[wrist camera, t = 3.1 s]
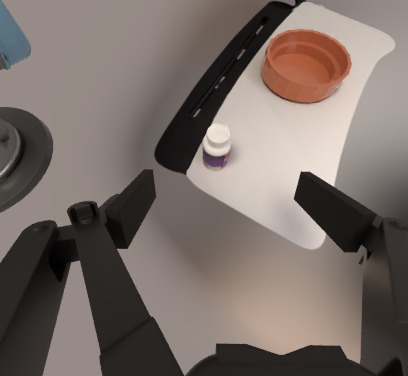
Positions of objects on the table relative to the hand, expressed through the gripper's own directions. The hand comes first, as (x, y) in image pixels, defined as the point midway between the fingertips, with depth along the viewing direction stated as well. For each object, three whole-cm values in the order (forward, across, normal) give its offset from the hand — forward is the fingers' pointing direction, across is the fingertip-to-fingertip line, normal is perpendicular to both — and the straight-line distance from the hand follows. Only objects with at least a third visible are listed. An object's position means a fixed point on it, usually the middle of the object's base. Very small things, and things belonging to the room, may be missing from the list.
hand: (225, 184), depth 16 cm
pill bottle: (+18, 0, -3) cm, 18 cm away
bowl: (+34, +20, +13) cm, 41 cm away
